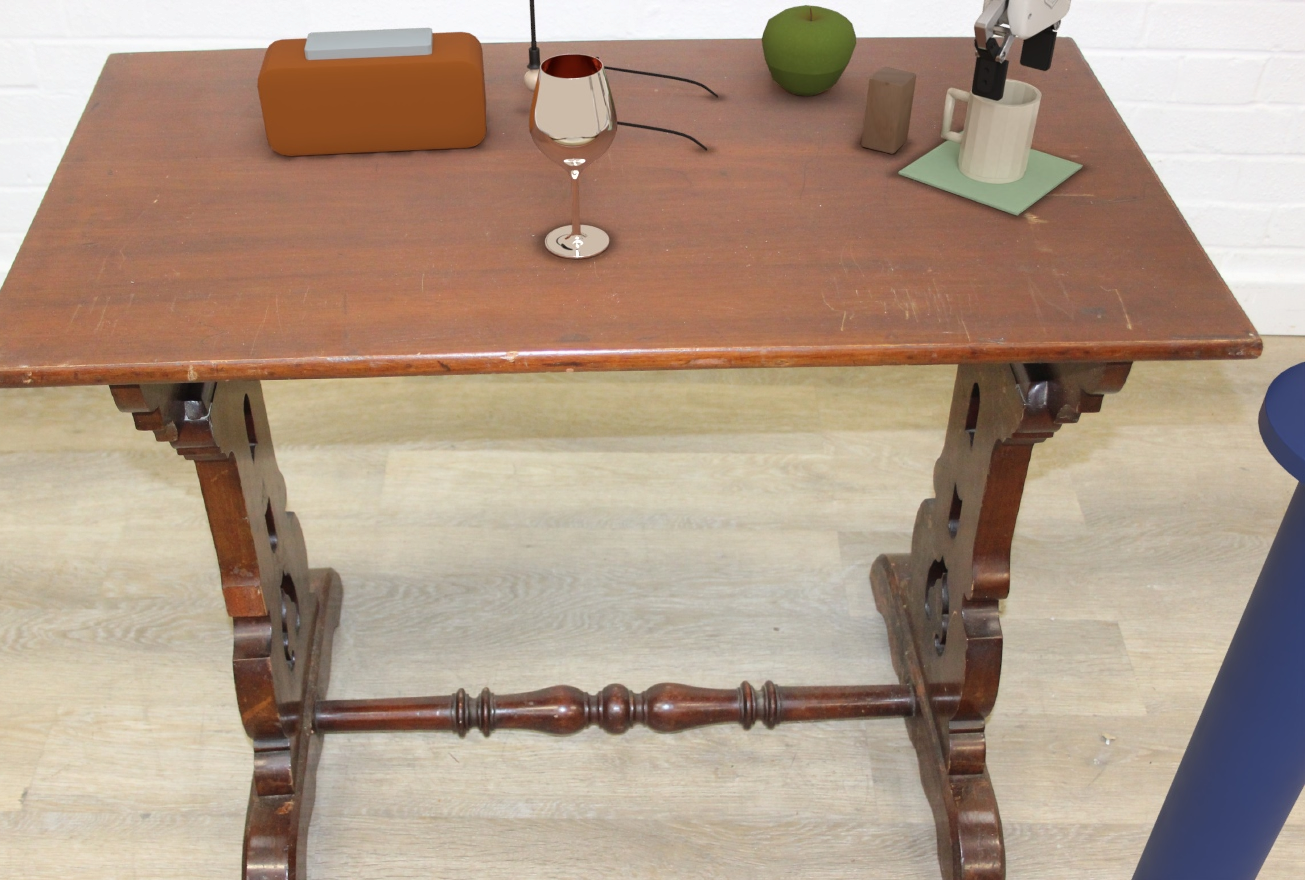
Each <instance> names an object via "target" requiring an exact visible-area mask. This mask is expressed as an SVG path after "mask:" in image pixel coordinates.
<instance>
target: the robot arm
mask: <svg viewBox="0 0 1305 880" xmlns="http://www.w3.org/2000/svg"><path fill="white" fill-rule="evenodd" d="M1071 5H1072V0H983V4H982V10H981V11H982V13H981V14H980V15H979V17H977V19H976V20H975V22H974V25H973V32H974V40H973V45H974V49H975V51H974V56H975V57H976V58H975V60H976V61H975V65H974V66H975V67H974V71H973V72H974V73H973V78H972V84H971V88H972V90H971V89H970V90H971V91H972V94H974V95H977V96H980V97H984V98H988V99H991V100H995V101H999V100H1000V99H1002V98H1003V93H1004V88H1005V82H1006V79H1007V77H1008V76H1007V75H1008V71H1009V70H1008V69H1009V64H1010V60H1009V59H1008V60H1007V59H1006V58H1007V56H1008V55H1009V51H1010V50H1011V48H1012V46H1013V44H1014V41H1015V39H1016V37H1018V39H1019V40H1023V41H1022V47H1021V52H1020V56H1019V57H1020V58H1019V64H1020V65H1021V66H1023V67H1027V68H1031V69H1035V70H1038V71H1043V72H1047V71H1049V70H1050V69H1051V67H1052V61H1053V56H1054V52H1055V45H1056V42H1057V36H1058V32H1057V31H1058V30H1059V29H1060V27H1061V23H1062V19H1063V18H1065V17H1066V16H1067V14H1068V13H1069V10H1070V8H1071ZM1002 25H1007V26H1009V27H1006V26H1002ZM994 36H998V37H1002V38H1003V39H1002V41H1001V43H1000V45H999V43H998V41H997V39H996V38H995V37H994Z"/></svg>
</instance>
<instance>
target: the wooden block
mask: <svg viewBox="0 0 1305 880" xmlns="http://www.w3.org/2000/svg"><path fill="white" fill-rule="evenodd" d="M916 82H917V73H915V72H912V71H907V70H903V69H899V68H894V67H890V66H889V67H888V66H882V67H881V68H880V69H878V70H877V72H875V73H874V74H873V75H872V76H870V77H869V80H868V85H867V86H868V88H867V95H866V102H865V103H866V104H865V112H864V119H863V126H862V127H863V128H862V136H861V146H862V147H863V148H866V149H870V150H874V151H878V152H882V153H887V154H892V155H893V154H896V152H897V151H899V150H900V149H901V147H902V146H904V144H906V143H907V141H908V136H909V130H910V123H911V117H912V109H913V102H914V96H915V88H916Z"/></svg>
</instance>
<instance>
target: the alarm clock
mask: <svg viewBox="0 0 1305 880" xmlns="http://www.w3.org/2000/svg"><path fill="white" fill-rule="evenodd" d="M483 55H484V53H483V47H482V44H481V41H480V40H479V39H478V37H476V35H474V34H472V33H471V32H467V31H450V32H449V31H448V32H447V31H446V32H433V28H432V27H409V28H388V29H387V28H385V29H363V30H339V31H338V30H337V31H317V32H310V33H308V34H307V37H304V38H303V37H302V38H281V39H278V40H274V41H273V42H272V43H270V44H269V45H268V46H267V49H266V51H265V54H264V56H263V60H262V64H261V67H260V70H259V74H258V77H257V91H258V96H259V103H260V108H261V113H262V118H263V124H264V129H265V134H266V139H267V142H268V144H269V146H270V147H271V149H272V150H273V151H275V153H277V154H280V155H282V156H288V157H293V156H294V157H295V156H314V155H315V156H316V155H336V154H337V155H338V154H358V153H359V154H361V153H362V154H363V153H381V152H400V151H404V152H405V151H424V150H426V151H427V150H445V149H467V148H473V147H476V146H478V145H479V144H481V143H482V142H483V140H484V139H485V138H486V135H487V95H486V82H485V81H486V80H485V68H484V56H483Z"/></svg>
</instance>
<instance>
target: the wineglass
mask: <svg viewBox="0 0 1305 880" xmlns="http://www.w3.org/2000/svg"><path fill="white" fill-rule="evenodd" d="M595 57H596V56H592V55H588V54H584V53H563V54H557V55H554V56H551V57H548V58H546V59H544V60H543V61H541V62H540V63H541V65H540V68H539V73H538V77H537V81H536V86H535V90H534V91H533V94H532V100H531V105H530V110H529V119H528V127H529V128H528V129H529V133H530V136H531V139H532V141H533V143H534V145H535V146H536V147H537V149H538V150H539V151H540V152H541V153H542V154H543V155H544V156H545V157H546V158H547V159H548V160H550V161H551V162H553V163H555V164H556V165H557V166H559V167H560V168H562V169H563V170H564V171H565V172H566V173H567V175H568V176H569V178H570V197H571V224H569V225H564V226H561V227H557V228H555V229H553V230H552V231H550V232H549V233H548V234H547V235H546V236H545V239H544V246H545V248H546V250H547V251H548V252H549V253H551V254H552V255H555V256H557V257H561V258H564V259H571V260H572V259H574V260H581V259H587V258H592V257H595V256H598V255H600V254H601V253H603V252H604V251H606V250H607V248H608V247H609V245H610V237H609V235H608V233H606V231H604V230H602V229H601V228H598V227H596V226H594V225H593V226H592V225H587V224H581V210H580V207H581V206H580V202H581V201H580V177H581V175H582V173H583V171H584V170H585V169H587V168H588V167H589V166H590V165H591V164H593V163H594V162H595V161H597V160H599V158H601V157H602V156H603V155H604V154H605V153H606V152H607V151H608V150H609V148H610V147H611V145H612V143H613V142H614V140H615V137H616V135H617V131H618V125H617V121H618V116H617V110H616V104H615V101H614V98H613V94H612V90H611V87H610V83H609V79H608V75H607V73H606V69H604V66H605V65H604V63H603V61H602V60H600V58H599V59H598V58H595Z"/></svg>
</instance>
